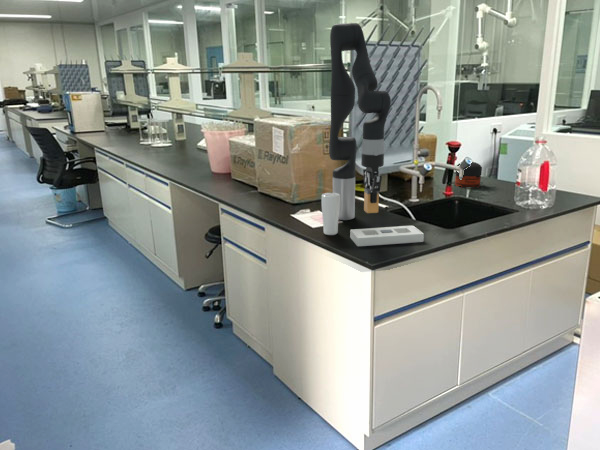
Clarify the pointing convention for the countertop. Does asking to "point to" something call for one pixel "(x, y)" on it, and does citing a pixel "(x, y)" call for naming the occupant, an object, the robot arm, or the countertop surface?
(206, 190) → the countertop surface
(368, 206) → the plug
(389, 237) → the pdu strip
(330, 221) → the drinking glass
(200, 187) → the countertop surface
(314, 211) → the countertop surface
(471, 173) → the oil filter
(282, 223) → the countertop surface
